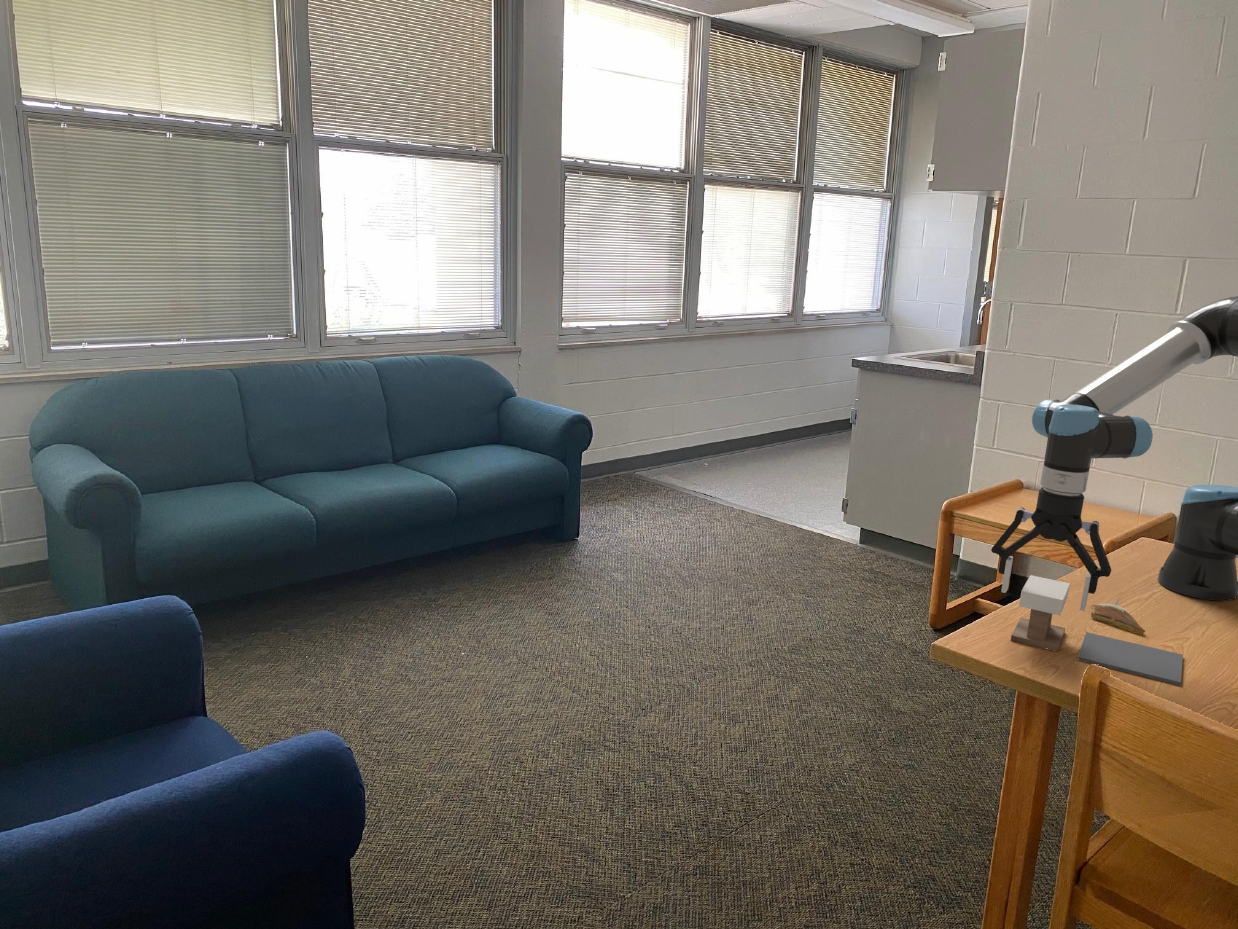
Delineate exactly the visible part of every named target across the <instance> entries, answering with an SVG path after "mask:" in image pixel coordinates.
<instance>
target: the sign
mask: <svg viewBox="0 0 1238 929" xmlns="http://www.w3.org/2000/svg"><path fill="white" fill-rule="evenodd" d="M1120 598H1121V596H1119V597H1118V598H1117V599H1116V601H1115V603H1114V604H1113V603H1099V604H1098V605H1101V606H1112V607H1116V608H1119V609H1122V610H1125V611H1126V612H1127V613H1128V610H1127V609H1126V608H1124V607H1122V606H1120V605H1117V604H1118V602H1119V600H1120Z"/></svg>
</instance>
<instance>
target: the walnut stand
mask: <svg viewBox="0 0 1238 929" xmlns="http://www.w3.org/2000/svg"><path fill="white" fill-rule="evenodd" d="M1029 615H1030V616H1029V618H1025V617H1024V618H1023V617H1019V620H1018V622H1017V624H1016V626H1015V628H1014V630H1013V632H1012V633H1011V635H1010V641H1012V642H1017V643H1020V644H1024V643H1025V645H1028V644H1029V646H1032V645H1034V646H1033V647H1037V648H1040V647H1042V648H1041V649H1044V648H1048V649H1050V650H1049V651H1052V650H1055V651H1054V652H1056V651H1057V650H1059V648H1060V645H1061V643H1062V641H1063V637H1064V635H1065V631H1066V628H1065V627H1063V626H1058V625H1055V624H1054V625H1053V624H1052V620H1053V619H1052V618H1053V614H1051V613H1047V612H1042V611H1038V610H1034V609H1030V613H1029ZM1048 649H1047V650H1048ZM1057 652H1058V651H1057Z"/></svg>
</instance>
